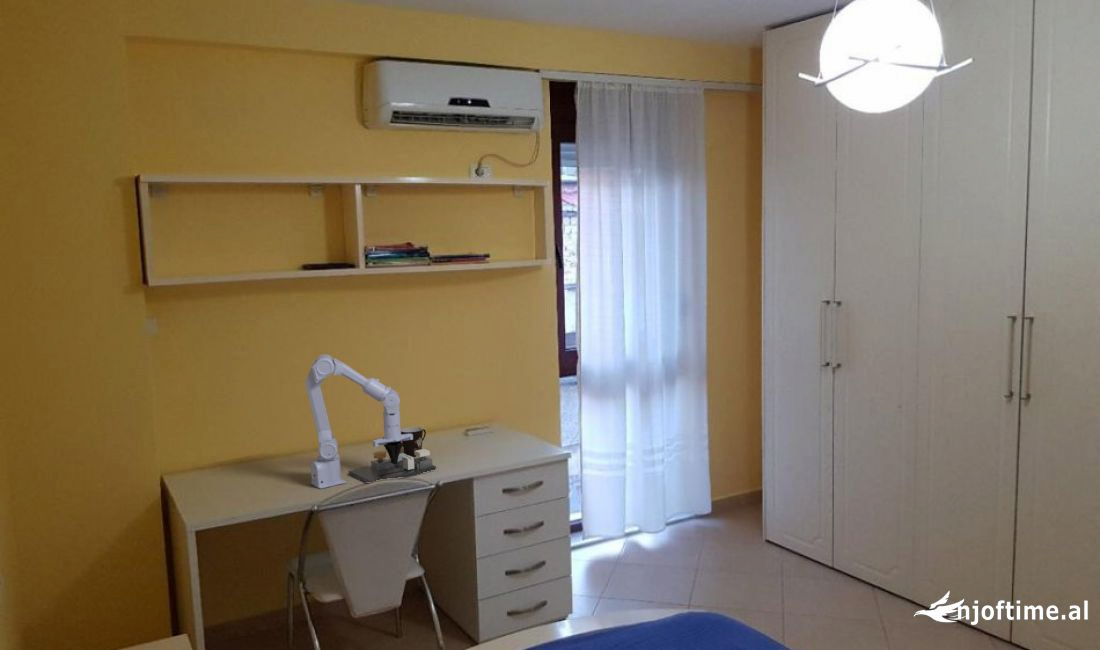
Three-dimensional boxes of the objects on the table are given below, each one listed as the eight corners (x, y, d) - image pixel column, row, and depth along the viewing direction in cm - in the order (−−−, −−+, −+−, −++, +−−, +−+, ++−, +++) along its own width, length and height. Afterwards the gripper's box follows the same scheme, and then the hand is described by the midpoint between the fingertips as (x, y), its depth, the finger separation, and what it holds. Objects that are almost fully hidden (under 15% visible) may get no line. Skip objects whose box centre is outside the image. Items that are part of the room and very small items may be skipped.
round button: (377, 465, 293) (377, 455, 292) (372, 463, 296) (371, 452, 296) (388, 463, 295) (388, 452, 295) (383, 460, 299) (382, 450, 298)
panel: (371, 485, 280) (370, 474, 279) (349, 474, 294) (348, 463, 294) (436, 470, 295) (435, 459, 295) (411, 460, 309) (410, 450, 309)
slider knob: (408, 469, 290) (407, 458, 290) (402, 467, 294) (402, 456, 293) (414, 468, 292) (413, 457, 291) (408, 466, 295) (408, 455, 295)
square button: (420, 463, 293) (419, 453, 293) (414, 461, 296) (414, 450, 296) (430, 461, 296) (429, 450, 295) (424, 459, 299) (424, 448, 298)
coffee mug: (407, 459, 312) (405, 433, 310) (398, 454, 319) (396, 429, 318) (435, 453, 318) (433, 428, 317) (425, 449, 325) (424, 424, 324)
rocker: (393, 463, 297) (392, 461, 297) (388, 461, 300) (387, 459, 300) (407, 457, 300) (407, 454, 300) (402, 455, 303) (402, 452, 303)
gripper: (378, 430, 280) (380, 469, 282) (416, 423, 289) (418, 461, 290) (369, 427, 286) (371, 465, 287) (406, 420, 294) (408, 457, 296)
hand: (394, 463), depth 289 cm, fingers closed
